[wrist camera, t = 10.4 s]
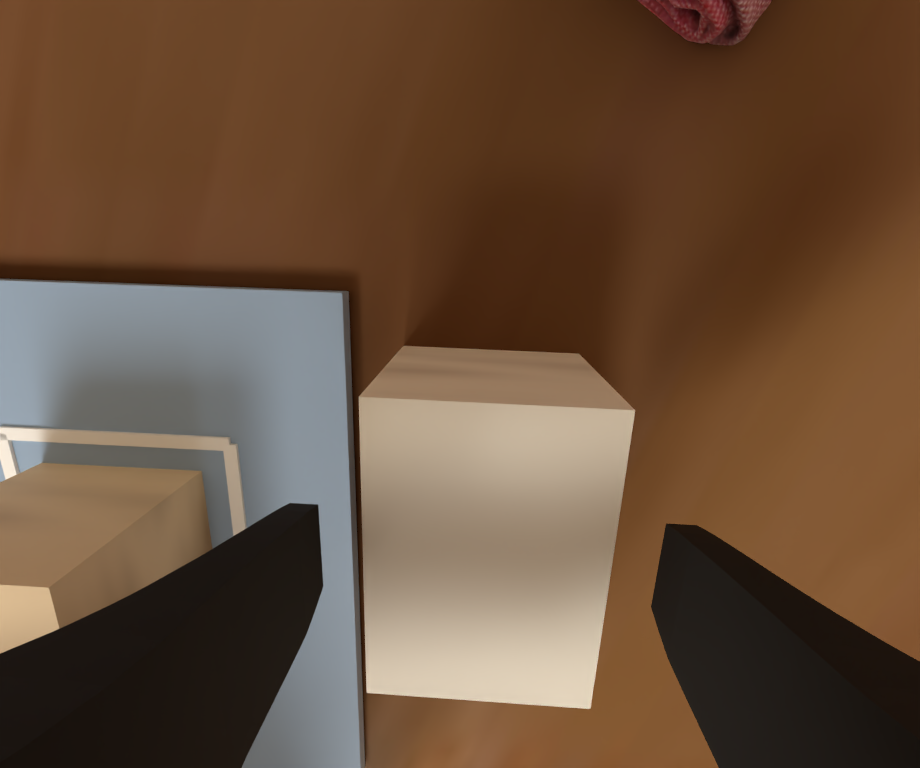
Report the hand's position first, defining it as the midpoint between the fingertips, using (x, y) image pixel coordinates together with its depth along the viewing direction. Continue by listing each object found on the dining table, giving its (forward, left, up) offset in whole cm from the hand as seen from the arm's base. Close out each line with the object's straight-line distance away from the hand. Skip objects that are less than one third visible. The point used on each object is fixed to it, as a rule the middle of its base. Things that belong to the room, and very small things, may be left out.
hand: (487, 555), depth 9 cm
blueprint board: (-4, +11, -5) cm, 13 cm away
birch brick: (0, 0, -5) cm, 5 cm away
